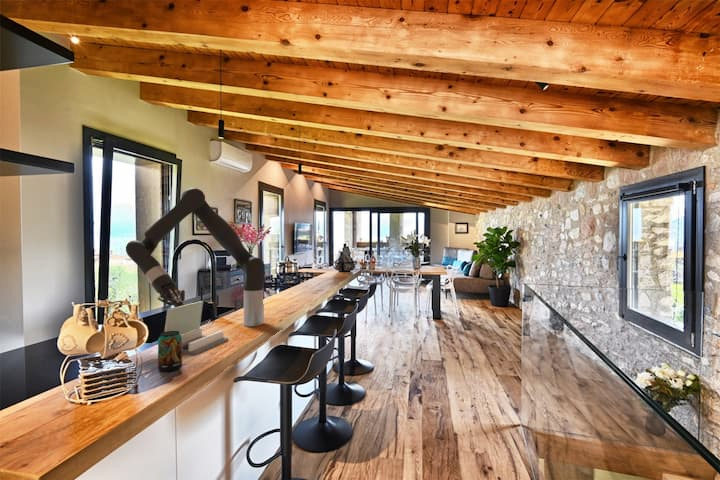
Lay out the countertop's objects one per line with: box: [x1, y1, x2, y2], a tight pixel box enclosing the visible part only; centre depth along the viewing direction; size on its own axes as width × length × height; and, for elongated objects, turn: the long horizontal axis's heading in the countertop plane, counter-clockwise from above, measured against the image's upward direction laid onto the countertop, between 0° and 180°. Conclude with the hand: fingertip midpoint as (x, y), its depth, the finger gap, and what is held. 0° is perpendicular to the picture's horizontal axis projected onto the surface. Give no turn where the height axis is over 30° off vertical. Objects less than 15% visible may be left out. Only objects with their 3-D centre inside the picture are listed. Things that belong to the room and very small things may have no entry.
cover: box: [164, 300, 204, 335], centre depth 153 cm, size 19×12×1 cm
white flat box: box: [181, 328, 229, 356], centre depth 152 cm, size 20×16×4 cm
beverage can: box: [157, 331, 183, 373], centre depth 126 cm, size 7×7×12 cm
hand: (183, 311), depth 153 cm, fingers closed
